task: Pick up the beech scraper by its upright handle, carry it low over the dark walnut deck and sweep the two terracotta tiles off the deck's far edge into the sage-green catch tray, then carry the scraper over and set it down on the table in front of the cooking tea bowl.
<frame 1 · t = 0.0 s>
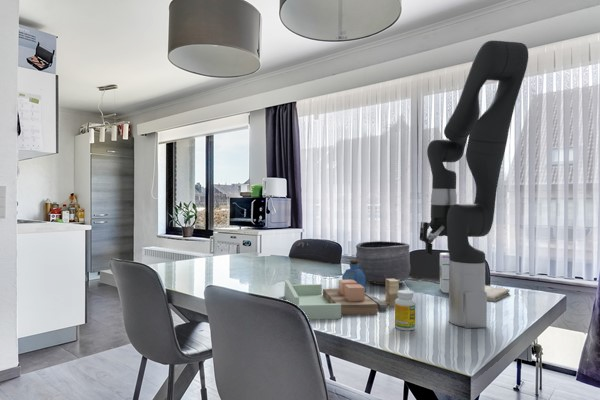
hand: (442, 255, 121), 17 cm above the table, tool pointing down, fingers open, 8 cm apart
perfume bottle: (353, 293, 143), on the table
catch tray: (311, 306, 124), on the table
deck: (347, 305, 125), on the table
washcloth: (485, 297, 142), on the table
scraper: (391, 304, 128), on the table
syrup box: (448, 292, 148), on the table
tile b: (347, 293, 130), point 3 cm above the table, touching deck
supplement bottle: (404, 328, 103), on the table
tile a: (354, 298, 122), point 3 cm above the table, touching deck
tea bowl: (382, 283, 163), on the table
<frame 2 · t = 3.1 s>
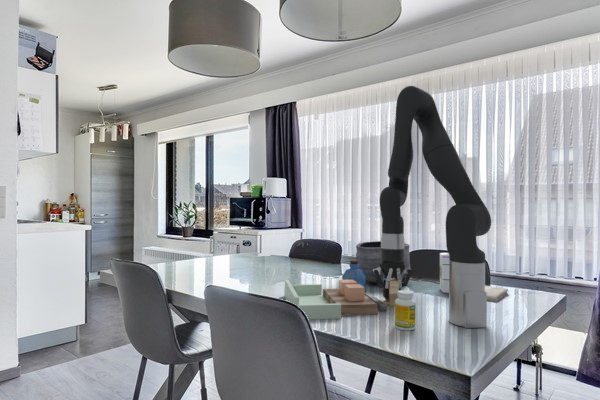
hand: (392, 299, 128), 2 cm above the table, tool pointing down, fingers closed on scraper, 3 cm apart
scraper: (391, 304, 128), on the table, touching gripper
everything else where it was.
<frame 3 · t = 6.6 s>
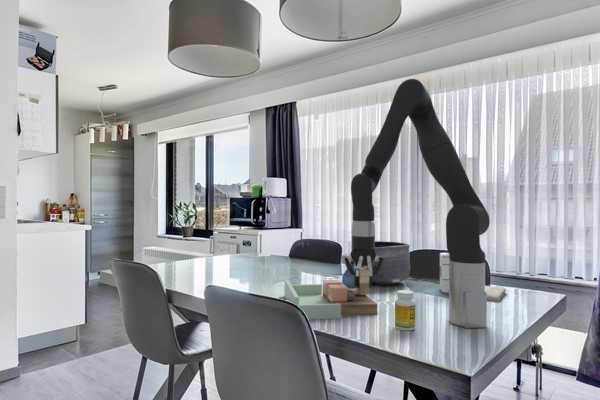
hand: (362, 287, 126), 6 cm above the table, tool pointing down, fingers closed on scraper, 3 cm apart
scraper: (362, 293, 126), point 4 cm above the table, touching gripper, tile a
tile b: (331, 293, 129), point 3 cm above the table, touching deck
tile a: (337, 299, 121), point 3 cm above the table, touching scraper
everything else where it was.
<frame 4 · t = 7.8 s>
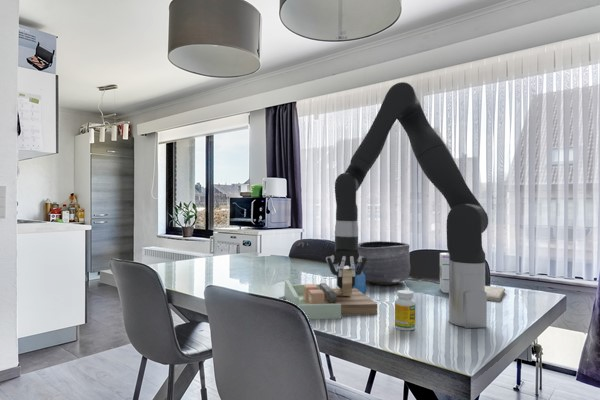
hand: (345, 287, 126), 6 cm above the table, tool pointing down, fingers closed on scraper, 3 cm apart
scraper: (345, 294, 126), point 4 cm above the table, touching gripper
tile b: (316, 293, 128), point 3 cm above the table, tilted 90°, touching catch tray
tile a: (322, 299, 120), point 3 cm above the table, tilted 90°, touching catch tray
everything else where it was.
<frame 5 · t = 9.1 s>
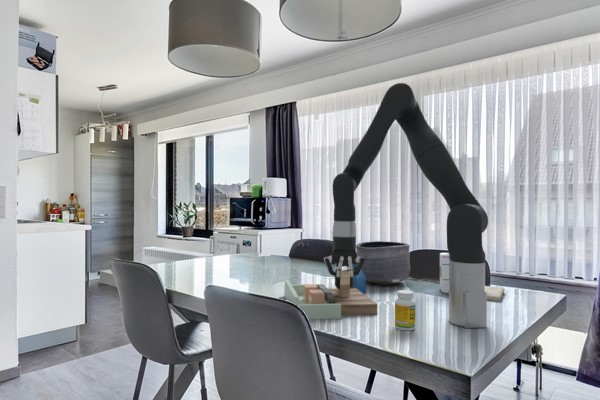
hand: (343, 288, 125), 6 cm above the table, tool pointing down, fingers closed on scraper, 3 cm apart
scraper: (343, 295, 125), point 3 cm above the table, touching gripper
everything else where it was.
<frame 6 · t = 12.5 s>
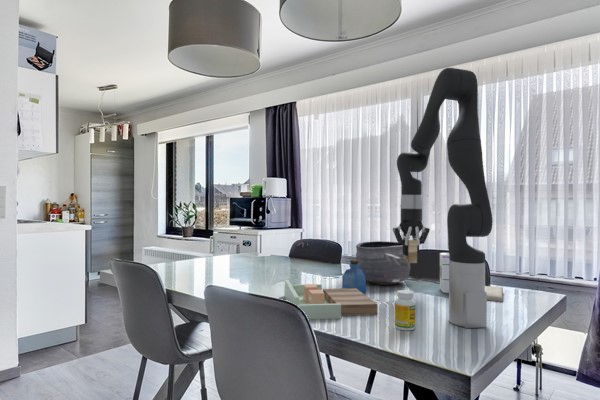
hand: (410, 255, 139), 15 cm above the table, tool pointing down, fingers closed on scraper, 3 cm apart
scraper: (410, 262, 139), point 12 cm above the table, touching gripper
when the fingers open (2 cm above the table, at t = 15.0 s): scraper stays where it is, on the table.
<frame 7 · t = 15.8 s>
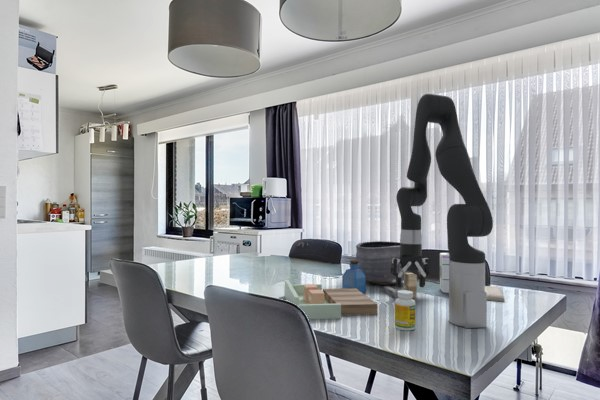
hand: (410, 287, 139), 3 cm above the table, tool pointing down, fingers open, 8 cm apart
scraper: (410, 296, 139), on the table
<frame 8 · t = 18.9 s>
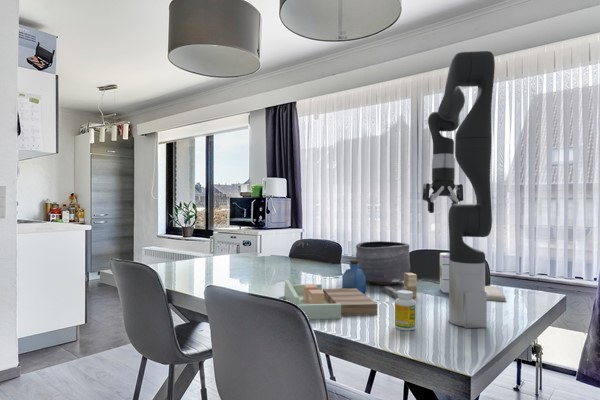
hand: (442, 213, 137), 30 cm above the table, tool pointing down, fingers open, 8 cm apart
at the end: tile a inside the target area (5.8 cm from its centre), point 3.1 cm above the table; tile b inside the target area (5.5 cm from its centre), point 3.1 cm above the table; scraper 23.8 cm from the tea bowl (horizontally) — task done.
